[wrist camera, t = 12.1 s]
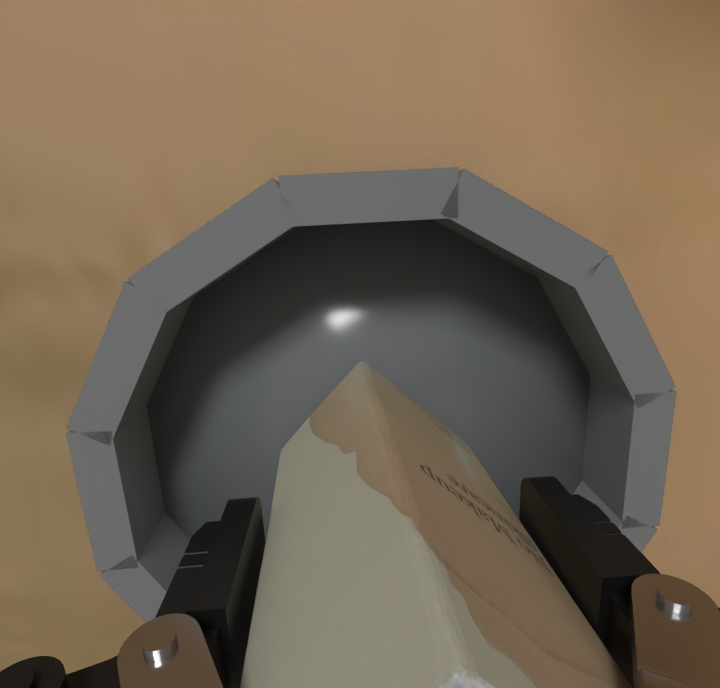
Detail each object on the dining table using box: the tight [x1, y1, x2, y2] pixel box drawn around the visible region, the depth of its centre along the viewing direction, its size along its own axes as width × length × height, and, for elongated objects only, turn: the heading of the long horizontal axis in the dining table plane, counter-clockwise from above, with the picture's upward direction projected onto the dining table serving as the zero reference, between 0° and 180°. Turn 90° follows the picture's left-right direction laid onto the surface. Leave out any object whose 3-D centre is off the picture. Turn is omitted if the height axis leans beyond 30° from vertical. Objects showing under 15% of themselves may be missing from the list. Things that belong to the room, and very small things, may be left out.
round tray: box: [66, 167, 676, 622], centre depth 15 cm, size 17×17×3 cm
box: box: [240, 361, 633, 688], centre depth 10 cm, size 5×4×11 cm
